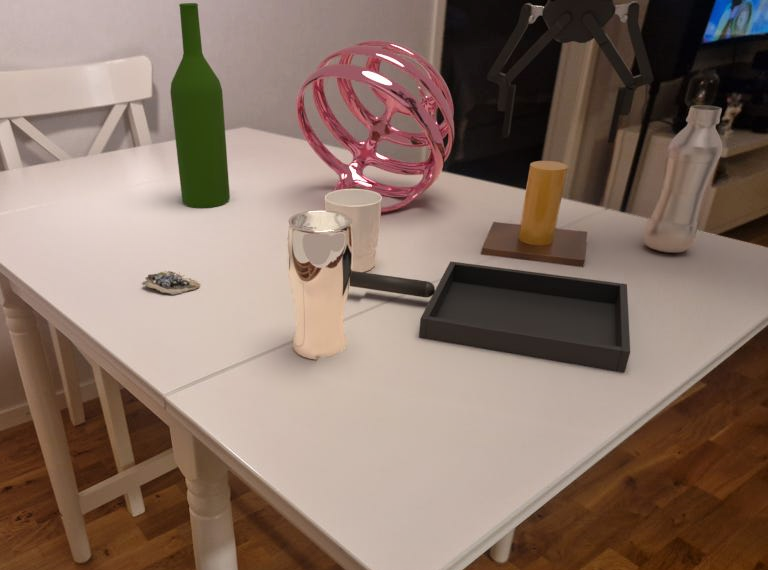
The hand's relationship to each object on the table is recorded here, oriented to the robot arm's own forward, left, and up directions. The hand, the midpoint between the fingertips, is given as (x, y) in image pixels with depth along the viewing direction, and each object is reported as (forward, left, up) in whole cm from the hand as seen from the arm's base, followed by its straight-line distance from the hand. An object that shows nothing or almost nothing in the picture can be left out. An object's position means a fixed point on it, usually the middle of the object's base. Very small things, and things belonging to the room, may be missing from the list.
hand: (556, 138), depth 91 cm
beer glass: (+20, +39, -16) cm, 47 cm away
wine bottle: (+59, -5, -16) cm, 62 cm away
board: (0, 0, -16) cm, 16 cm away
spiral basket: (+29, -15, -16) cm, 37 cm away
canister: (0, 0, -15) cm, 15 cm away
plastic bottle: (-18, -6, -16) cm, 25 cm away
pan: (-1, +25, -16) cm, 30 cm away
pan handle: (+16, +25, -15) cm, 33 cm away
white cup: (+24, +15, -16) cm, 33 cm away
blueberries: (+45, +30, -16) cm, 57 cm away
